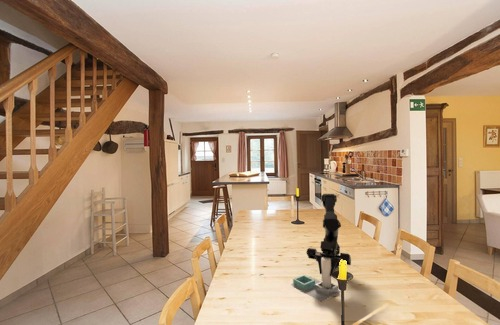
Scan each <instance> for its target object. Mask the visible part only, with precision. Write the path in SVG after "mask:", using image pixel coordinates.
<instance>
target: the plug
mask: <svg viewBox="0 0 500 325" xmlns="http://www.w3.org/2000/svg"><path fill="white" fill-rule="evenodd" d="M321 268H322V273H321V282H322V287H323V288H325V289H327V290H328V289H330V288H331V283H332V276H330V272H331V268H332V267H331V259H330V258H327V257H322V258H321Z"/></svg>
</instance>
